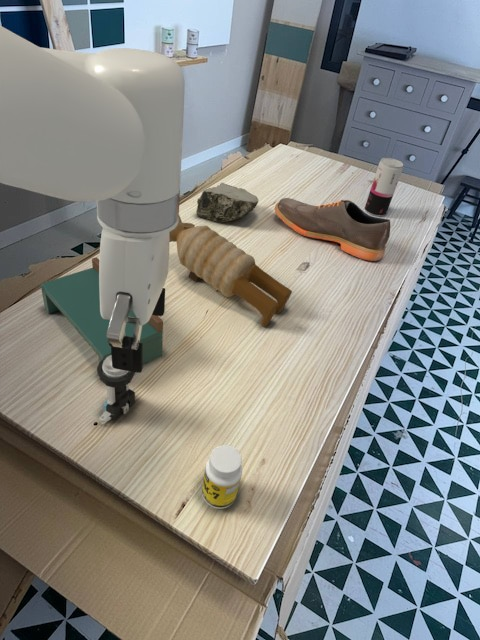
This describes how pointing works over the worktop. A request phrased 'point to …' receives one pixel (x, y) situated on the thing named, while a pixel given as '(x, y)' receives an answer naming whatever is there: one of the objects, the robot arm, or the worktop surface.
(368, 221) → the oxford shoe
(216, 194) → the concrete fragment
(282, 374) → the worktop surface
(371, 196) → the beverage can
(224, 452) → the supplement bottle
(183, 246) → the toy animal figurine
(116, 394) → the push button
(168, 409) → the worktop surface
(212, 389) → the worktop surface
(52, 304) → the shelf
